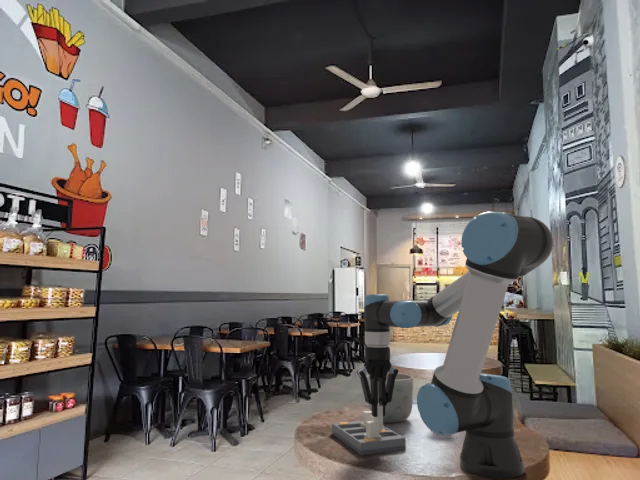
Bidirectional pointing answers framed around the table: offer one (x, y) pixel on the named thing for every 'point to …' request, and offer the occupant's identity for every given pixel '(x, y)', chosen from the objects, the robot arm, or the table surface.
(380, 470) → the table surface
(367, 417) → the tab
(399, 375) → the concrete flower pot
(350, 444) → the switch bank
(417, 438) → the table surface
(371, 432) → the tab
